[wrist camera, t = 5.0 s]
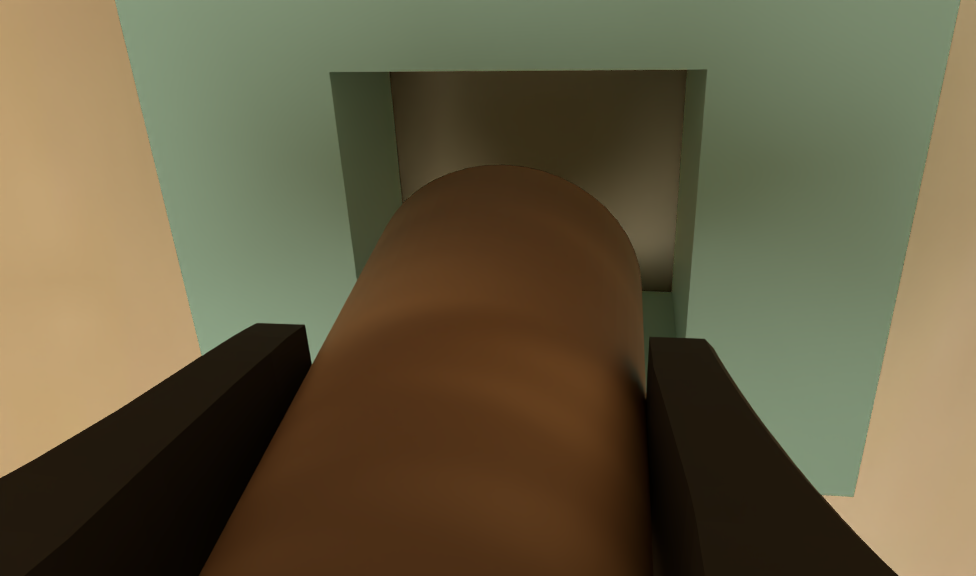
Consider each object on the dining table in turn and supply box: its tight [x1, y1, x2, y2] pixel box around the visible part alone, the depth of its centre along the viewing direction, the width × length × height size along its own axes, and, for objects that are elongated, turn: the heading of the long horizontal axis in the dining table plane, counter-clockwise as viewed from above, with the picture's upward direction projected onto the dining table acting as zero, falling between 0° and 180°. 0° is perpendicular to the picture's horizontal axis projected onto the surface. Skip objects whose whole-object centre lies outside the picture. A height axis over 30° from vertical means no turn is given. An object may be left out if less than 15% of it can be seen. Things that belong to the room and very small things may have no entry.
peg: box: [199, 165, 653, 576], centre depth 9 cm, size 4×4×8 cm
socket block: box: [115, 0, 960, 497], centre depth 15 cm, size 12×10×4 cm
